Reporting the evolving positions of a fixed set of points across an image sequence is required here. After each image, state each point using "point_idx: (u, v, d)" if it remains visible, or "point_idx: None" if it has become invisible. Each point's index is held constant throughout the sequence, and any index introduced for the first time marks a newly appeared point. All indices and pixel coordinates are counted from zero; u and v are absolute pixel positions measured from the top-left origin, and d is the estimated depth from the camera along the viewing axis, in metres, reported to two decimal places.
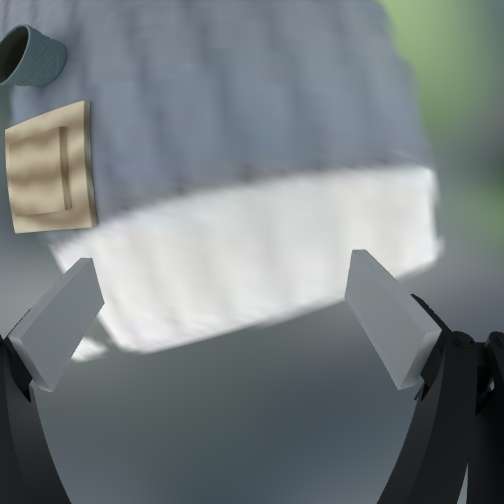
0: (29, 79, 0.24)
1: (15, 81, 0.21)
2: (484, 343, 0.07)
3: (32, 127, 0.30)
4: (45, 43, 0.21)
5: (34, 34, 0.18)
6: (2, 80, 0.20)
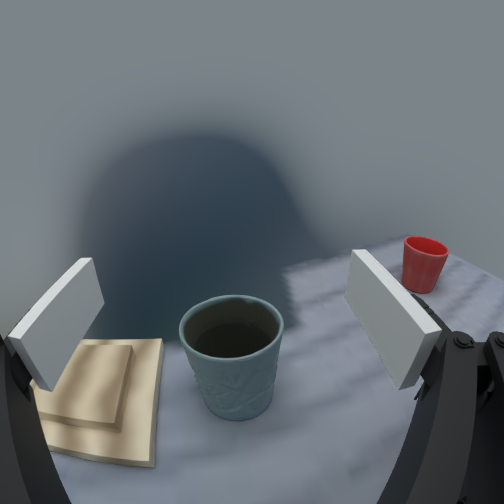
0: None
1: None
2: (484, 343, 0.07)
3: (142, 380, 0.30)
4: (247, 387, 0.24)
5: (254, 364, 0.23)
6: (198, 325, 0.29)
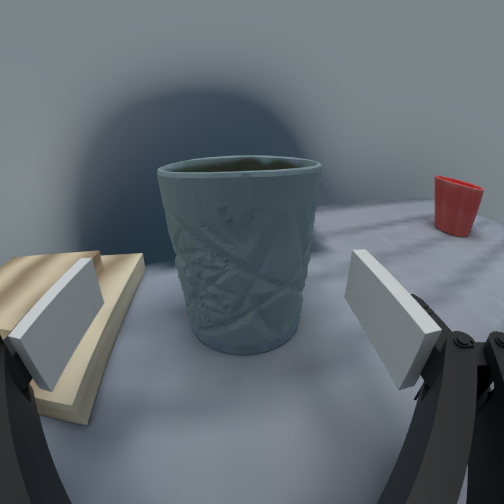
0: (176, 253, 0.17)
1: None
2: (484, 343, 0.07)
3: (103, 293, 0.21)
4: (265, 260, 0.14)
5: (280, 196, 0.13)
6: None
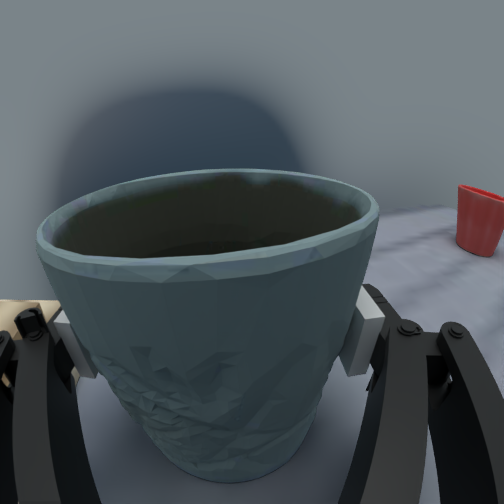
0: None
1: None
2: (437, 335, 0.07)
3: None
4: (255, 417, 0.06)
5: (297, 314, 0.05)
6: (129, 233, 0.11)
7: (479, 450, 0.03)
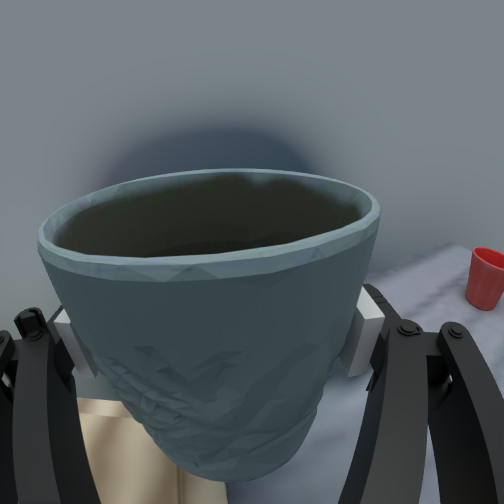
0: None
1: None
2: (437, 335, 0.07)
3: None
4: (257, 416, 0.06)
5: (300, 313, 0.05)
6: (130, 232, 0.11)
7: (479, 450, 0.03)
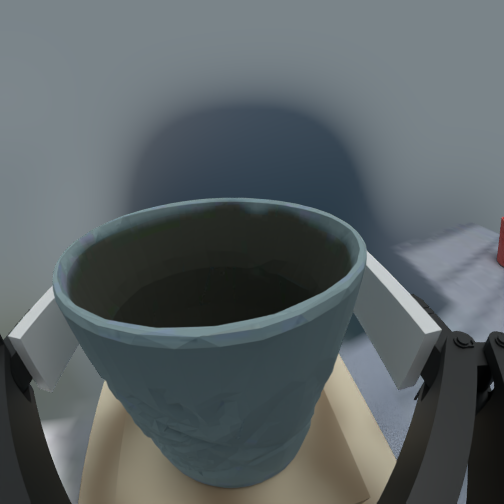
0: None
1: None
2: (484, 343, 0.07)
3: (343, 404, 0.17)
4: (254, 435, 0.07)
5: (287, 363, 0.05)
6: (135, 262, 0.12)
7: None
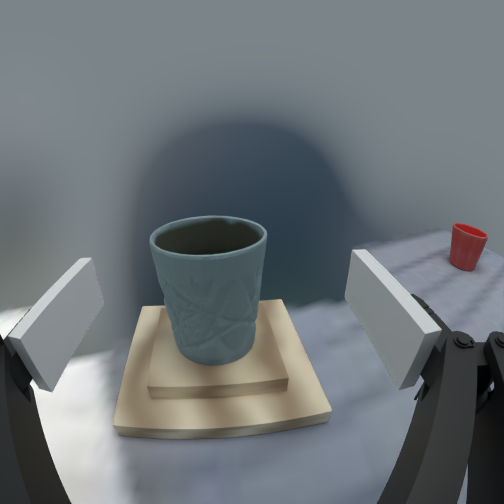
0: None
1: None
2: (484, 343, 0.07)
3: (284, 337, 0.32)
4: (221, 306, 0.21)
5: (230, 269, 0.20)
6: (174, 244, 0.26)
7: None
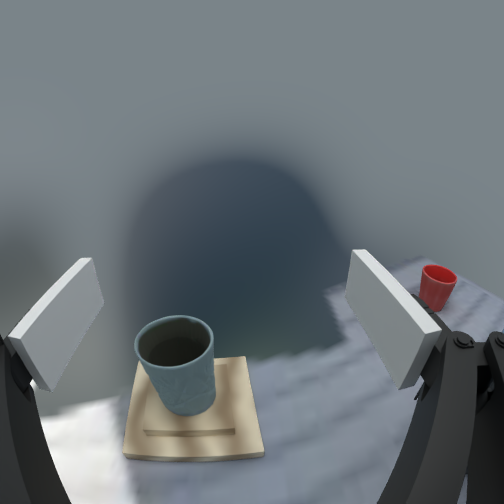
0: None
1: None
2: (484, 343, 0.07)
3: (241, 391, 0.40)
4: (184, 389, 0.30)
5: (184, 373, 0.28)
6: (153, 338, 0.35)
7: None
